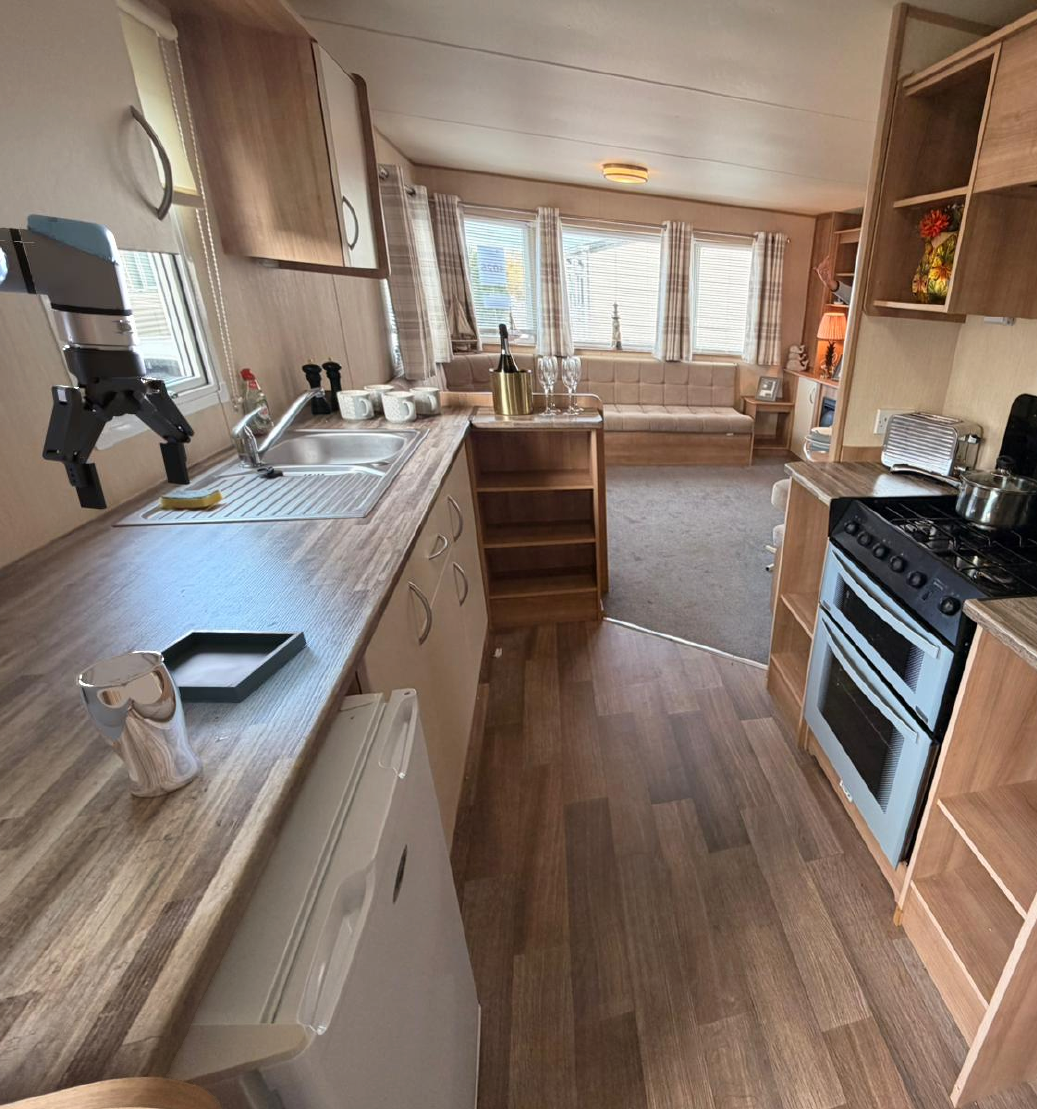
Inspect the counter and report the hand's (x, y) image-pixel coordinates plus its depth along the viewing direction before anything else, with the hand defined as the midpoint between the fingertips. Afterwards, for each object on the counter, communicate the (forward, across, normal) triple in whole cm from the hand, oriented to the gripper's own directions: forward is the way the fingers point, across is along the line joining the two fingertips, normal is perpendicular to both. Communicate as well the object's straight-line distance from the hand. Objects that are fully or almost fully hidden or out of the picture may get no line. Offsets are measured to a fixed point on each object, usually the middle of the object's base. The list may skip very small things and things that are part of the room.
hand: (139, 495), depth 88 cm
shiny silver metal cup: (+22, -32, -27) cm, 47 cm away
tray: (+22, -12, -16) cm, 29 cm away
